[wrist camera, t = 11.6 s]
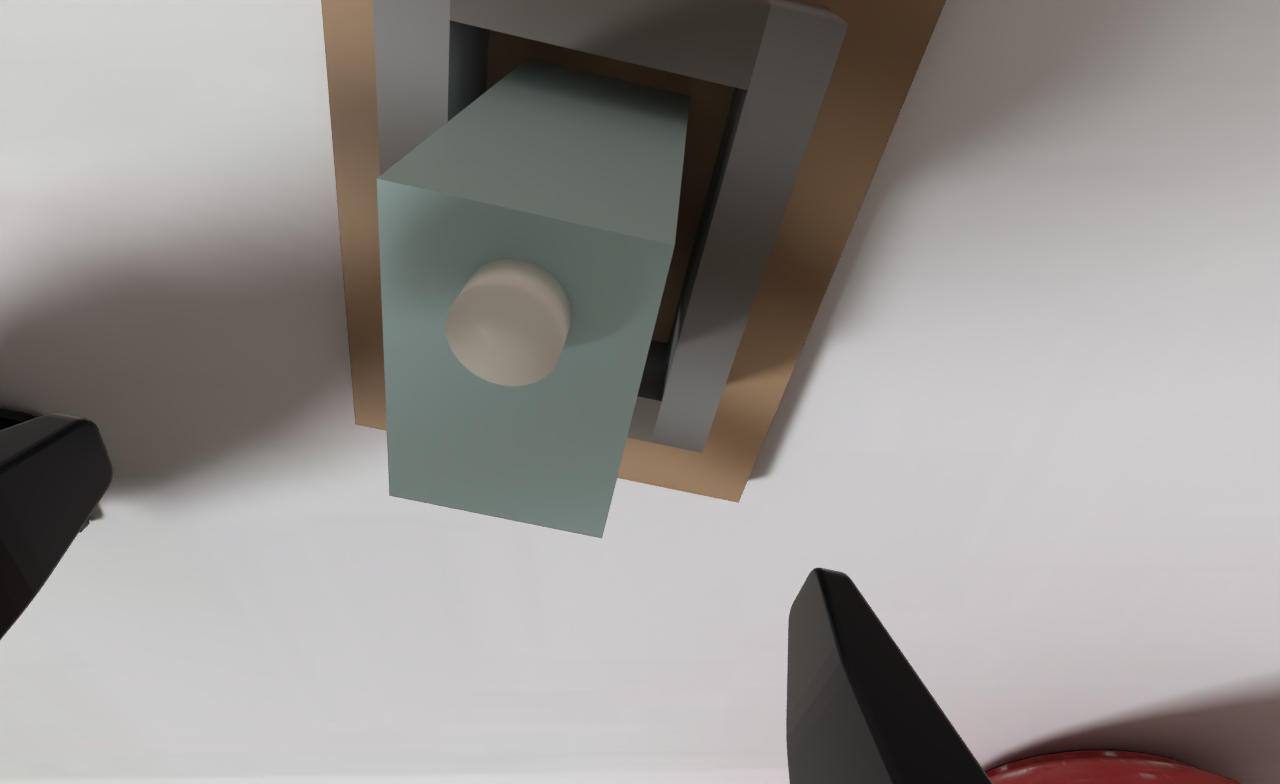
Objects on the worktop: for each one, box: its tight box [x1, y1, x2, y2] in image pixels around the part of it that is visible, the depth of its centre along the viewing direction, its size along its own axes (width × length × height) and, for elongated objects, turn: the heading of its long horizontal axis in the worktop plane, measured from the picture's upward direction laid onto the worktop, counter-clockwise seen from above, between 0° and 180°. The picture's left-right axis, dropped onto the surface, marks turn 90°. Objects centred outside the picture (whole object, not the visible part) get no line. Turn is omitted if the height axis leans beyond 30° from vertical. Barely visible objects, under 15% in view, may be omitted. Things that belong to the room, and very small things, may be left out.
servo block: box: [377, 58, 690, 538], centre depth 14 cm, size 6×4×10 cm, turn 169°
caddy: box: [321, 0, 946, 503], centre depth 17 cm, size 20×14×4 cm
